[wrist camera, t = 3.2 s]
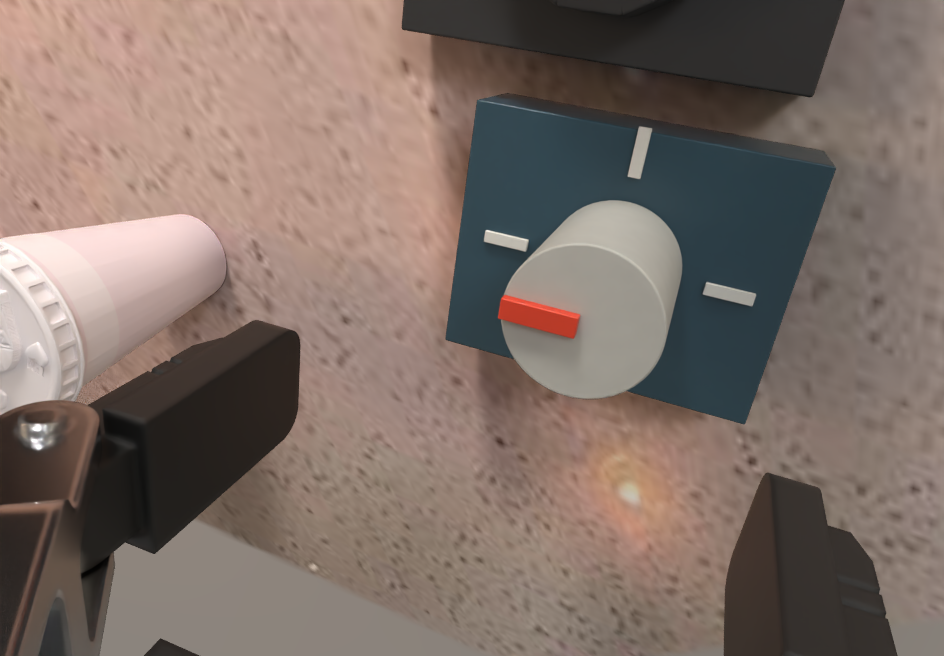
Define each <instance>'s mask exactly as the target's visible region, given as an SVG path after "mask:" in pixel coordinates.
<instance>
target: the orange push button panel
mask: <svg viewBox="0 0 944 656" xmlns="http://www.w3.org/2000/svg"><path fill="white" fill-rule="evenodd" d="M844 1H845V0H404V7H403V18H402V29H403V30H407V31H413V32H419V33H425V34H431V35H437V36H443V37H449V38H455V39H461V40H467V41H473V42H479V43H485V44H491V45H497V46H503V47H510V48H516V49H522V50H528V51H534V52H540V53H546V54H552V55H558V56H564V57H570V58H576V59H582V60H588V61H594V62H600V63H606V64H612V65H618V66H624V67H630V68H636V69H642V70H648V71H654V72H661V73H667V74H673V75H679V76H685V77H691V78H697V79H703V80H709V81H715V82H721V83H727V84H733V85H739V86H745V87H751V88H757V89H763V90H769V91H775V92H781V93H787V94H793V95H799V96H805V97H813V95H814V93H815V90H816V87H817V84H818V81H819V78H820V74H821V71H822V68H823V65H824V62H825V59H826V56H827V53H828V50H829V47H830V44H831V41H832V38H833V35H834V32H835V29H836V26H837V23H838V20H839V17H840V13H841V10H842V7H843V4H844Z"/></svg>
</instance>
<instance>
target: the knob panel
mask: <svg viewBox="0 0 944 656" xmlns="http://www.w3.org/2000/svg"><path fill="white" fill-rule="evenodd" d="M835 170H836V166H835V165H834V164H833V162H832V161H831V160H830V159H829V157H828V156H827V155H826V153H825V152H824V151H822V150H816V149H811V148H805V147H800V146H794V145H789V144H783V143H778V142H772V141H767V140H762V139H756V138H751V137H745V136H740V135H734V134H729V133H723V132H718V131H712V130H707V129H701V128H696V127H690V126H685V125H680V124H674V123H669V122H663V121H658V120H652V119H647V118H641V117H636V116H630V115H625V114H619V113H614V112H609V111H603V110H598V109H592V108H587V107H581V106H576V105H570V104H565V103H559V102H554V101H548V100H543V99H537V98H532V97H527V96H521V95H516V94H510V93H505V94H501V95H496V96H492V97H487V98H483V99H479V100H477V105H476V113H475V120H474V128H473V135H472V143H471V150H470V158H469V165H468V173H467V180H466V188H465V195H464V203H463V210H462V218H461V226H460V233H459V241H458V248H457V256H456V263H455V271H454V278H453V286H452V293H451V301H450V308H449V316H448V323H447V331H446V340H448V341H452V342H455V343H459V344H462V345H466V346H469V347H473V348H476V349H480V350H483V351H487V352H490V353H494V354H497V355H501V356H504V357H508V358H512V359H514V357H513V356H512V354H511V352H510V350H509V348H508V346H507V344H506V341H505V338H504V334H503V330H502V324H501V319H498V314H499V308H500V302H501V298H502V297H503V296H504V293H505V290H506V288H507V285H508V283H509V282H510V280H511V278H512V276H513V275H514V274H515V272H516V271H517V270H518V268H519V267H520V266H521V265H522V264H523V263H524V262H525V261H526V260H527V259H528V258H529V257H530V256H531V255H532V254H533V253H534V252H535V251H536V250H537V249H538V248H539V247H540V246H541V245H542V244H543V243H544V241H545V240H546V239H547V238H548V237H549V236H550V235H551V234H552V233H553V232H554V231H555V230H556V229H557V228H558V227H559V226H560V225H561V224H562V223H563V222H564V221H565V220H566V219H567V218H568V217H569V216H570V215H572V214H573V213H574V212H576V211H577V210H579V209H581V208H583V207H585V206H587V205H590V204H592V203H596V202H600V201H608V200H619V201H626V202H631V203H634V204H637V205H640V206H642V207H644V208H646V209H648V210H650V211H651V212H653V213H654V214H656V215H657V216H658V217H660V218H661V219H662V220H663V221H664V222H665V223H666V224H667V226H668V227H669V228H670V230H671V231H672V233H673V234H674V236H675V238H676V240H677V242H678V245H679V248H680V252H681V256H682V276H681V281H680V285H679V289H678V293H677V297H676V302H675V306H674V310H673V314H672V318H671V322H670V326H669V330H668V334H667V338H666V342H665V346H664V349H663V352H662V354H661V357H660V359H659V360H658V362H657V364H656V366H655V367H654V368H653V370H652V371H651V372H650V374H649V375H648V376H647V377H646V378H645V379H644V380H642V381H641V382H640V383H638V384H637V385H636V386H634V387H633V388H631V389H629V390H627V391H628V392H631V393H635V394H639V395H642V396H646V397H649V398H653V399H656V400H660V401H663V402H667V403H670V404H674V405H677V406H681V407H684V408H688V409H691V410H695V411H699V412H702V413H706V414H709V415H713V416H716V417H720V418H723V419H727V420H730V421H734V422H737V423H741V424H745V423H746V420H747V417H748V414H749V412H750V409H751V406H752V403H753V400H754V398H755V395H756V392H757V389H758V386H759V384H760V381H761V378H762V375H763V372H764V369H765V367H766V364H767V361H768V358H769V355H770V353H771V350H772V347H773V344H774V341H775V339H776V336H777V333H778V330H779V327H780V325H781V322H782V319H783V316H784V313H785V310H786V308H787V305H788V302H789V299H790V296H791V294H792V291H793V288H794V285H795V282H796V280H797V277H798V274H799V271H800V268H801V265H802V263H803V260H804V257H805V254H806V251H807V249H808V246H809V243H810V240H811V237H812V235H813V232H814V229H815V226H816V223H817V221H818V218H819V215H820V212H821V209H822V206H823V204H824V201H825V198H826V195H827V192H828V190H829V187H830V184H831V181H832V178H833V176H834V173H835Z"/></svg>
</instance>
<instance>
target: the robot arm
mask: <svg viewBox="0 0 944 656" xmlns="http://www.w3.org/2000/svg"><path fill="white" fill-rule="evenodd" d="M299 369H300V339H299V336H298V334H297V333H296V332H295V331H293V330H289V329H286V328H283V327H279V326H276V325H273V324H269V323H266V322H263V321H259V320H255V321H252V322H250V323H248V324H246V325H245V326H243V327H241V328H240V329H238V330H236V331H234V332H233V333H231V334H229V335H228V336H226V337H224V338H219V339H215V340H211V341H208V342H204V343H201V344H197V345H193V346H191V347H190V348H188V349H186V350H184V351H183V352H181V353H179V354H177V355H176V356H174V357H172V358H171V360H170V362H169V361H165V362H163V363H161V364H160V365H158V366H156V367H154V368H153V369H152V372H149V371H147V372H145V373H144V374H142V375H140V376H138V377H137V378H135V379H133V380H131V381H130V382H128V383H126V384H124V385H122V386H121V387H119V388H117V389H115V390H114V391H112V392H110V393H108V394H107V395H105V396H103V397H101V398H100V399H98V400H96V401H94V402H92V403H91V404H89V405H86V404H82V403H79V402H74V401H67V400H49V401H41V402H34V403H30V404H26V405H23V406H20V407H16V408H14V409H12V410H9V411H7V412H5V413H3V414H2V415H0V656H99V654H100V649H101V643H102V638H103V632H104V626H105V620H106V614H107V608H108V603H109V597H110V592H111V586H112V580H113V574H114V569H115V561H114V551H115V550H116V549H117V548H119V547H120V546H121V545H122V544H123V543H125V542H126V543H128V544H131V545H133V546H136V547H138V548H140V549H143V550H146V551H148V552H150V553H153V554H155V553H156V552H158V551H159V550H160V549H161V548H162V547H163V546H164V545H165V544H166V543H168V542H169V541H170V540H171V539H172V538H173V537H174V536H176V535H177V534H178V533H179V532H180V531H181V530H182V529H183V528H185V527H186V526H187V525H188V524H189V523H190V522H191V521H192V520H194V519H195V518H196V517H197V516H198V515H199V514H200V513H201V512H203V511H204V510H205V509H206V508H207V507H208V506H209V505H210V504H212V503H213V502H214V501H215V500H216V499H217V498H218V497H220V496H221V495H222V494H223V493H224V492H225V491H226V490H227V489H229V488H230V487H231V486H232V485H233V484H234V483H235V482H236V481H238V480H239V479H240V478H241V477H242V476H243V475H244V474H245V473H247V472H248V471H249V470H250V469H251V468H252V467H253V466H254V465H256V464H257V463H258V462H259V461H260V460H261V459H262V458H263V457H265V456H266V455H267V454H268V453H269V452H270V451H271V450H272V449H274V448H275V447H276V446H277V445H278V444H279V443H280V442H281V441H283V440H284V439H285V437H286V436H287V435H288V433H289V432H290V430H291V428H292V426H293V424H294V422H295V419H296V415H297V411H298V397H299ZM879 591H880V587H879V584H878V580H877V576H876V572H875V568H874V565H873V561H872V560H871V559H870V557H869V556H868V555H867V553H866V552H865V551H864V549H863V548H862V547H861V545H860V544H859V543H858V541H857V540H856V539H855V538H854V536H853V535H852V534H851V533H850V532H847V531H844V530H841V529H837V528H834V527H831V526H828V525H827V520H826V515H825V509H824V504H823V499H822V494H821V490H820V489H819V488H818V487H815V486H811V485H808V484H805V483H801V482H798V481H794V480H791V479H788V478H784V477H781V476H778V475H774V474H771V473H766V474H765V475H764V476H763V478H762V480H761V482H760V484H759V486H758V489H757V491H756V494H755V497H754V499H753V502H752V504H751V507H750V510H749V512H748V515H747V517H746V520H745V523H744V525H743V528H742V530H741V533H740V536H739V538H738V541H737V543H736V546H735V549H734V551H733V554H732V557H731V561H730V565H729V569H728V574H727V579H726V586H725V616H724V656H897V652H896V649H895V645H894V641H893V637H892V633H891V629H890V626H889V622H888V619H886V618H885V615H886V610H885V607H884V603H883V599H882V595H880V594H879ZM144 656H199V655H197V654H194V653H192V652H190V651H188V650H185V649H183V648H181V647H179V646H176V645H174V644H172V643H170V642H167V641H165V640H163V639H159V640H158V641H157V643H156V644H155V645H154V646H153V647H152V648H151V649H150V650H149V651H148V652H147V653H146V654H145V655H144Z"/></svg>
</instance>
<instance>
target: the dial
mask: <svg viewBox="0 0 944 656" xmlns="http://www.w3.org/2000/svg"><path fill="white" fill-rule="evenodd" d="M681 276H682V256H681V252H680V248H679V245H678V242H677V240H676V238H675V236H674V234H673V233H672V231H671V230H670V228H669V227H668V226H667V224H666V223H665V222H664V221H663V220H662V219H661V218H660V217H658V216H657V215H656V214H654V213H653V212H651V211H650V210H648V209H646V208H644V207H642V206H640V205H637V204H634V203H631V202H626V201H619V200H608V201H600V202H596V203H592V204H590V205H587V206H585V207H583V208H581V209H579V210H577V211H576V212H574V213H573V214H572V215H570V216H569V217H568V218H567V219H566V220H565V221H564V222H563V223H562V224H561V225H560V226H559V227H558V228H557V229H556V230H555V231H554V232H553V233H552V234H551V235H550V236H549V237H548V238H547V239H546V240H545V241H544V243H543V244H542V245H541V246H540V247H539V248H538V249H537V250H536V251H535V252H534V253H533V254H532V255H531V256H530V257H529V258H528V259H527V260H526V261H525V262H524V263H523V264H522V265H521V266H520V267H519V268H518V270H517V271H516V272H515V274H514V275H513V276H512V278H511V280H510V282H509V283H508V285H507V288H506V290H505V293H504V296H503V297H502V298H501V302H500V308H499V314H498V319H501V324H502V330H503V334H504V338H505V341H506V344H507V346H508V348H509V350H510V352H511V354H512V356H513V357H514V359H515V361H516V362H517V363H518V364H519V366H520V367H521V368H522V369H523V370H524V371H525V372H526V373H527V374H528V375H529V376H530V377H531V378H532V379H533V380H535V381H536V382H537V383H539V384H540V385H542V386H544V387H545V388H547V389H549V390H551V391H553V392H555V393H558V394H561V395H564V396H568V397H572V398H578V399H601V398H607V397H611V396H615V395H618V394H620V393H623V392H625V391H627V390H629V389H631V388H633V387H634V386H636V385H637V384H638V383H640V382H641V381H642V380H644V379H645V378H646V377H647V376H648V375H649V374H650V372H651V371H652V370H653V368H654V367H655V366H656V364H657V362H658V360H659V359H660V357H661V354H662V352H663V349H664V346H665V342H666V338H667V334H668V330H669V326H670V322H671V318H672V314H673V310H674V306H675V302H676V297H677V293H678V289H679V285H680V281H681Z"/></svg>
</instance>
